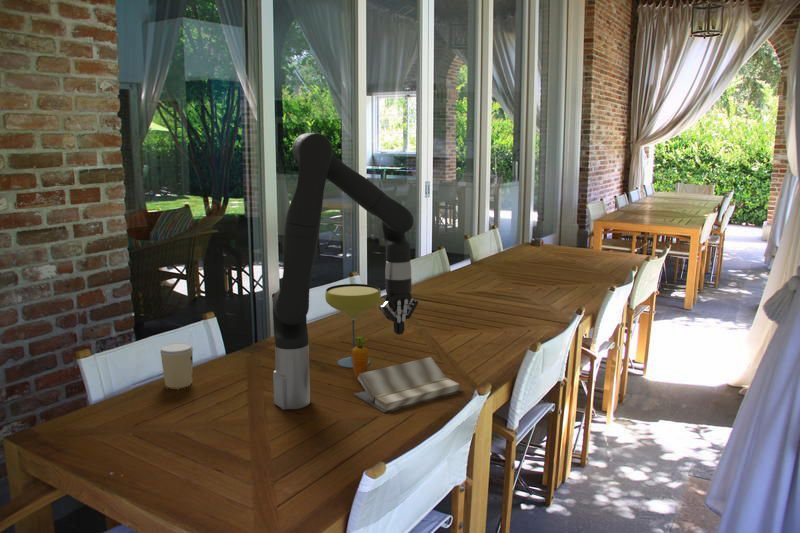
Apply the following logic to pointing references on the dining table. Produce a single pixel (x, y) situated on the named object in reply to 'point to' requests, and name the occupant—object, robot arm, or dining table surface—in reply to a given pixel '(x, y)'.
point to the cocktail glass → (352, 305)
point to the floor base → (411, 395)
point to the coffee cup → (177, 364)
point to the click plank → (400, 377)
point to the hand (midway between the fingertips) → (399, 333)
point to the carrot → (360, 357)
